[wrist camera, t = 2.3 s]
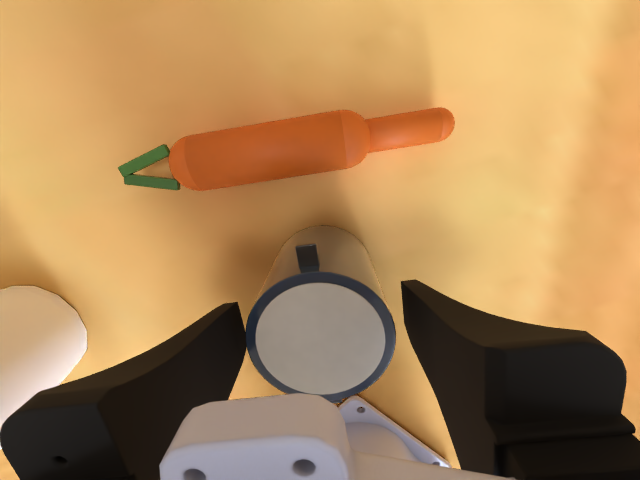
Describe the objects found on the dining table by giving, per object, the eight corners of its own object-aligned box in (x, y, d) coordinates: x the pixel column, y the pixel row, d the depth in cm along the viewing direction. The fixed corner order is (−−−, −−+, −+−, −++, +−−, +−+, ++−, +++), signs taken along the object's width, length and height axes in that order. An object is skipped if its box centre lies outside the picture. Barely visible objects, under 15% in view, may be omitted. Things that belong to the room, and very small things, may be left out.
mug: (364, 204, 16) (387, 240, 10) (377, 320, 18) (403, 411, 12) (263, 218, 17) (223, 262, 10) (287, 331, 19) (265, 424, 12)
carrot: (149, 197, 16) (117, 206, 14) (134, 148, 16) (97, 148, 13) (446, 151, 15) (469, 151, 13) (444, 95, 14) (468, 84, 12)
